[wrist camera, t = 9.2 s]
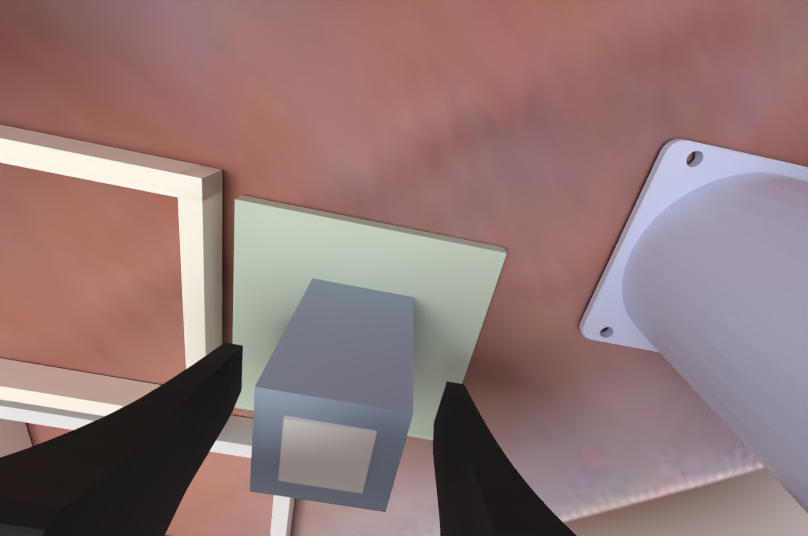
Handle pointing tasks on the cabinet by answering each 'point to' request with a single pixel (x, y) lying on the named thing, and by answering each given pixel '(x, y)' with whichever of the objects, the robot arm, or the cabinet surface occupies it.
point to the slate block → (336, 398)
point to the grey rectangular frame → (7, 431)
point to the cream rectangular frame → (197, 249)
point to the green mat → (362, 267)
